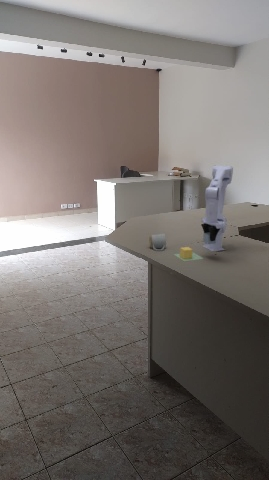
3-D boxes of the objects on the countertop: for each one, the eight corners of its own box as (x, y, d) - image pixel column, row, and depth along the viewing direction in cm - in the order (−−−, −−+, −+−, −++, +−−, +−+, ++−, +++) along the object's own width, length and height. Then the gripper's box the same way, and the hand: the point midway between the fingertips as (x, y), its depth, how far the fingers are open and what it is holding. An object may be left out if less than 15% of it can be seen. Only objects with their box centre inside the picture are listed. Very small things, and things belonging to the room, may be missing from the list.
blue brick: (203, 241, 180) (203, 232, 179) (211, 241, 182) (211, 232, 181) (207, 244, 176) (208, 235, 175) (215, 243, 178) (216, 234, 177)
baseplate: (173, 255, 185) (173, 254, 185) (192, 252, 189) (192, 252, 188) (183, 261, 175) (183, 261, 175) (203, 259, 179) (203, 258, 178)
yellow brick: (179, 256, 181) (180, 247, 180) (187, 255, 183) (188, 246, 182) (183, 259, 177) (184, 250, 176) (192, 258, 179) (192, 249, 178)
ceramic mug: (148, 246, 199) (149, 232, 197) (163, 245, 200) (163, 232, 198) (151, 252, 189) (152, 238, 187) (167, 251, 190) (168, 237, 188)
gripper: (196, 209, 180) (195, 236, 184) (212, 215, 167) (210, 244, 171) (209, 209, 182) (207, 235, 186) (225, 214, 169) (223, 242, 173)
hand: (209, 239), depth 179 cm, fingers closed on blue brick, 4 cm apart
